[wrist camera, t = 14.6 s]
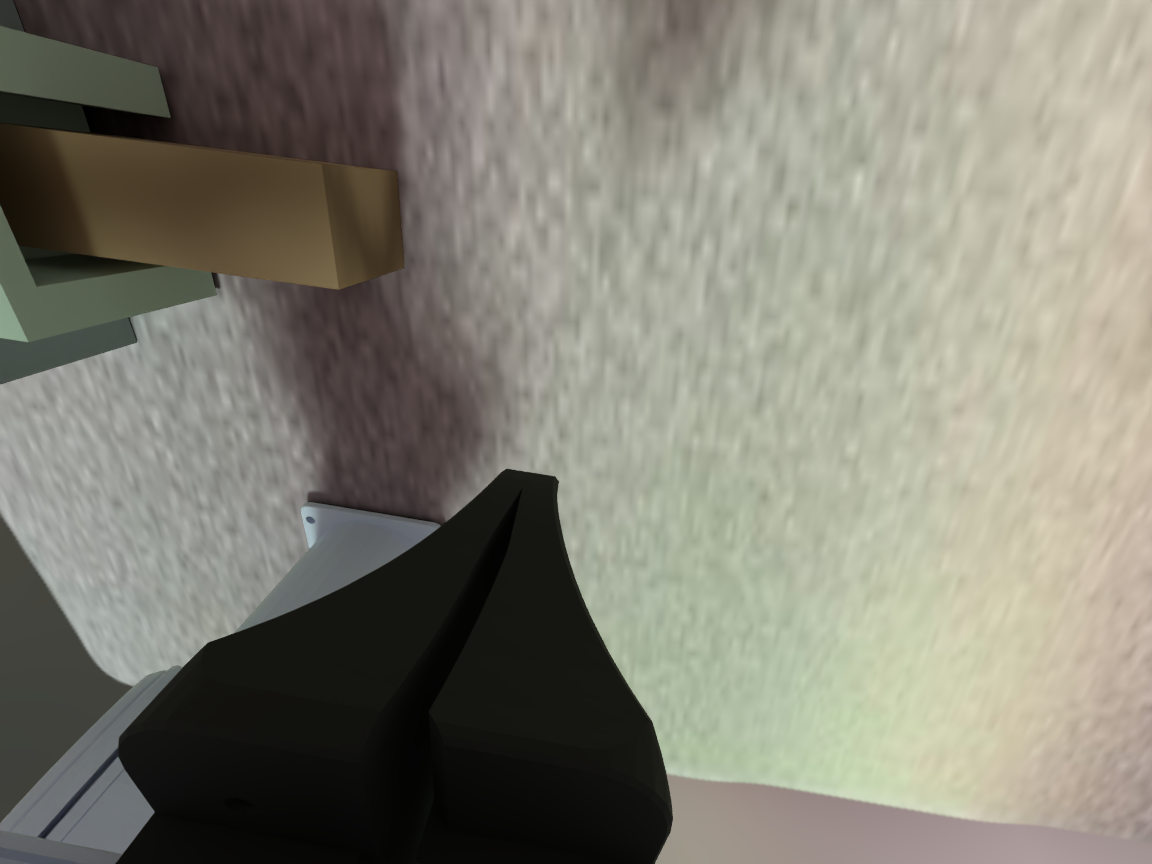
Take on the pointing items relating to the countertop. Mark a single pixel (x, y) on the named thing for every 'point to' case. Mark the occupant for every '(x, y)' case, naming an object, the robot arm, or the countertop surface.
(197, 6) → the countertop surface
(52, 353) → the board
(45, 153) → the bar
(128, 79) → the block
